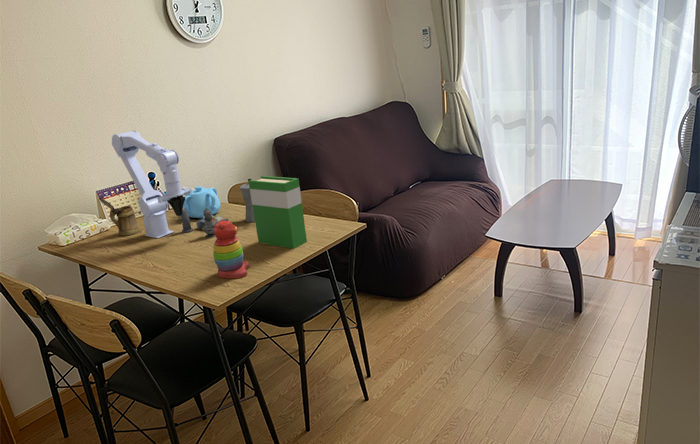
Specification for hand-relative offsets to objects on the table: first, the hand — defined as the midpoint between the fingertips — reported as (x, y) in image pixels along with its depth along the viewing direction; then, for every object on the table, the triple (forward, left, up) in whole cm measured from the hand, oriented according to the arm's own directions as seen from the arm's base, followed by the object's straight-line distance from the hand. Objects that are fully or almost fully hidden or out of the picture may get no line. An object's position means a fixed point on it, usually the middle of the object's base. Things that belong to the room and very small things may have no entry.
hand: (179, 215), depth 206 cm
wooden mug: (-32, -7, -10) cm, 35 cm away
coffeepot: (+12, +29, -10) cm, 33 cm away
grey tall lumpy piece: (+9, +7, -10) cm, 15 cm away
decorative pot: (-19, +25, -10) cm, 34 cm away
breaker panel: (0, +15, -10) cm, 18 cm away
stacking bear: (+47, -16, -10) cm, 50 cm away
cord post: (-7, +7, -10) cm, 14 cm away
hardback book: (+43, +12, -10) cm, 45 cm away
